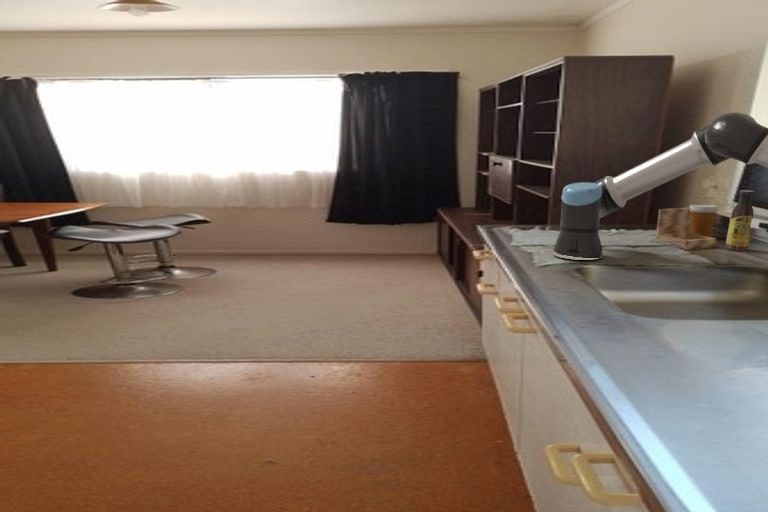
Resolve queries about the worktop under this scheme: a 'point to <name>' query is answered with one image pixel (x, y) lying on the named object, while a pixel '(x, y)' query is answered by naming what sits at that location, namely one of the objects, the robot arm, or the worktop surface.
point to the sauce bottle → (740, 222)
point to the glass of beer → (702, 218)
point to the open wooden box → (680, 230)
